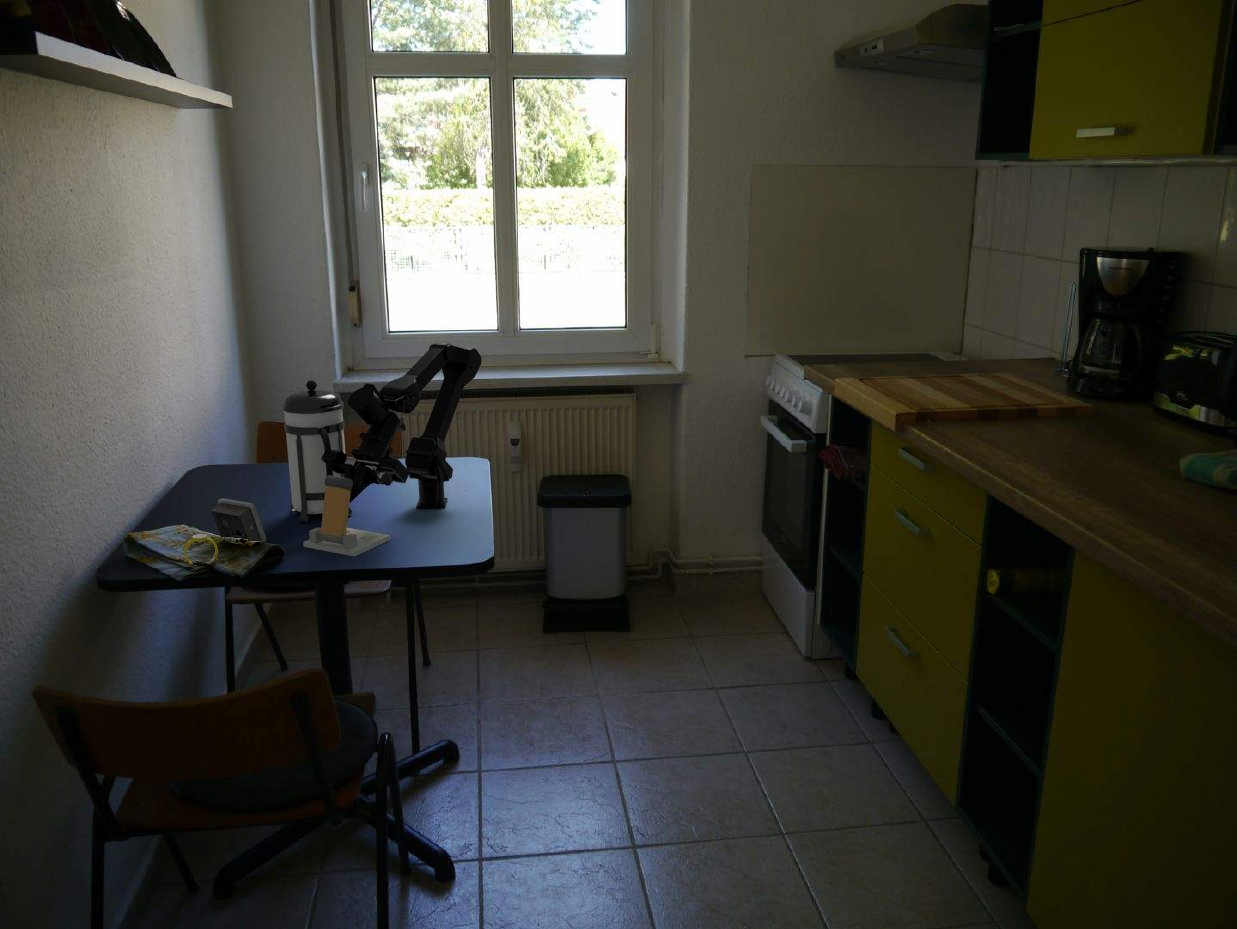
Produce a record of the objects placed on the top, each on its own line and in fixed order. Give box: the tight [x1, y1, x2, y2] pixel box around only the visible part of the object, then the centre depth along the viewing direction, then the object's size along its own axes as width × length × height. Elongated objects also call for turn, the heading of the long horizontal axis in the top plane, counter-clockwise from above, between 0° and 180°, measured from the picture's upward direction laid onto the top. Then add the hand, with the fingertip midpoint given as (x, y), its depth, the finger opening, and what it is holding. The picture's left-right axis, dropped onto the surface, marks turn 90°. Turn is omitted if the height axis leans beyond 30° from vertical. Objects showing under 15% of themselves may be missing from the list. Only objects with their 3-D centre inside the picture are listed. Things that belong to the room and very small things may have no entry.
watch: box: [183, 533, 219, 566], centre depth 197 cm, size 6×3×6 cm, turn 120°
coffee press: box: [281, 379, 353, 524], centre depth 224 cm, size 17×16×30 cm
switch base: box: [302, 527, 391, 557], centre depth 210 cm, size 11×13×4 cm
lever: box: [318, 475, 353, 544], centre depth 206 cm, size 2×6×13 cm, turn 65°
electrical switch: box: [210, 497, 267, 543], centre depth 209 cm, size 9×5×9 cm, turn 65°
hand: (347, 501), depth 209 cm, fingers closed
